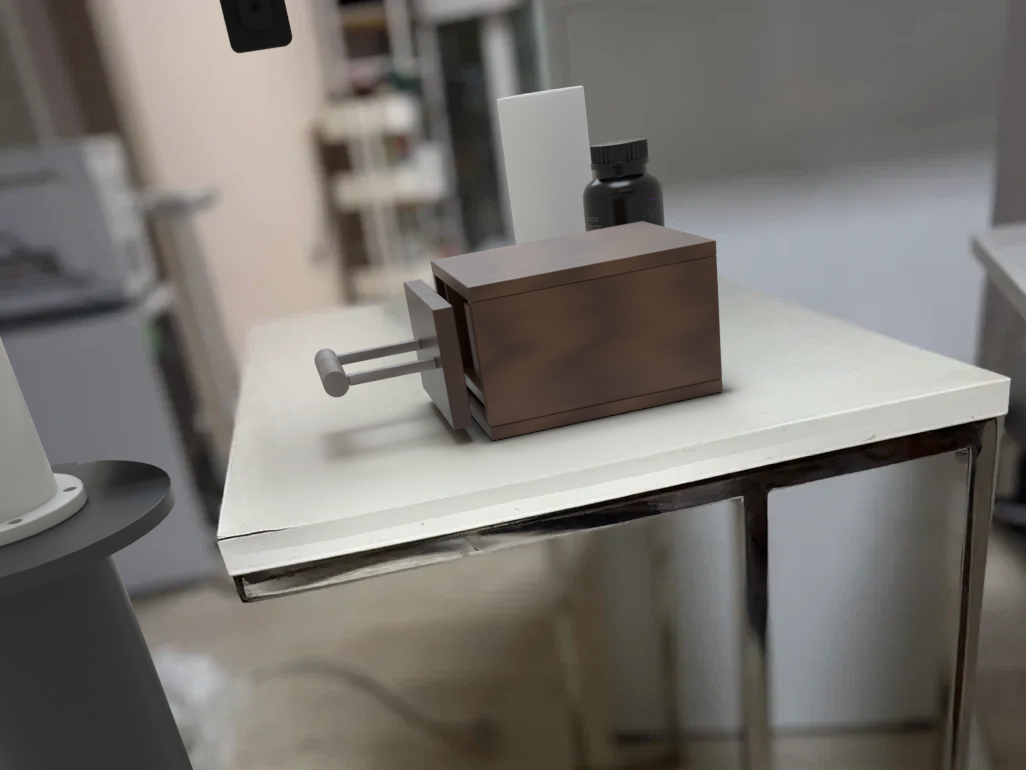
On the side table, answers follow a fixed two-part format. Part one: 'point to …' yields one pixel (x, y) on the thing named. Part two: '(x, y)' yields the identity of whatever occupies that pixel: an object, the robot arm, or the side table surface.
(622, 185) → the supplement bottle
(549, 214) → the tall white panel
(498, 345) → the cabinet
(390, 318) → the side table surface
